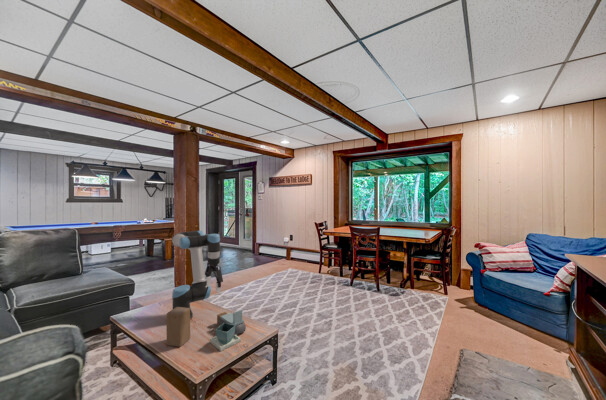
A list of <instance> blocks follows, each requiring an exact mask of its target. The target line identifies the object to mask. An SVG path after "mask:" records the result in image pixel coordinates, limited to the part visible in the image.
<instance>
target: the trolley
mask: <svg viewBox="0 0 606 400" xmlns="http://www.w3.org/2000/svg"><path fill="white" fill-rule="evenodd" d="M223 323H228V324H232V325H236V326H235V333H234V335H237V336H238V335H240V334H242V333H244V332H246V329H247V328H246V324H245V320H244V319H243V309H238V310H236V311H233V312H228V313H227V314H225V315H223V316H221V319H220V320H219V325H218V327H219V326H221V325H222V324H223Z"/></svg>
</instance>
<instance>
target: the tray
mask: <svg viewBox="0 0 606 400" xmlns="http://www.w3.org/2000/svg"><path fill="white" fill-rule="evenodd" d="M241 339H242V338H241V337H240V336H238V335H234V336H233V338H232V340H231V341H230V342H229V343H227V344H224V343H220V342H219V341H218V339H217V336H216V335H215V336H213V337H211V338H209V342H210V344H211V345H213V346H214V347H215V348H216V349H217V350H219V352H222V351H224V350H227V349H229V348H231V347H232V346H235V345H238V344H239V343H241V341H242V340H241Z"/></svg>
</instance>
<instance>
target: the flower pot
mask: <svg viewBox="0 0 606 400" xmlns="http://www.w3.org/2000/svg"><path fill="white" fill-rule="evenodd" d="M235 326H236V325H232V324H228V323H223V324H222V325H221V326H219V325H218V327H216V329H215V336H217V339H218V341H219V342H220V343H224V344H227V343H229V342H230V341H231V340H232V338H233V336H234V333H235Z"/></svg>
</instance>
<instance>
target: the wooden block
mask: <svg viewBox="0 0 606 400" xmlns="http://www.w3.org/2000/svg"><path fill="white" fill-rule="evenodd" d="M190 308H191V307H190ZM190 308H185V307H176V308H174V309H173V308H172V309H171V310H169V311H168V312H167V313H166V319H165V320H166V322H165V323H166V345H167V346H170V347H176V348H177V347H178V348H179V347H182V346H183V345H184V344H185V343H187V342H188V341H189V340H190V339H191V319H190Z"/></svg>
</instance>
